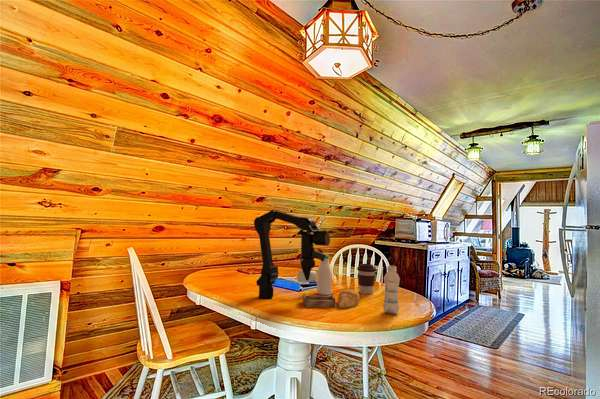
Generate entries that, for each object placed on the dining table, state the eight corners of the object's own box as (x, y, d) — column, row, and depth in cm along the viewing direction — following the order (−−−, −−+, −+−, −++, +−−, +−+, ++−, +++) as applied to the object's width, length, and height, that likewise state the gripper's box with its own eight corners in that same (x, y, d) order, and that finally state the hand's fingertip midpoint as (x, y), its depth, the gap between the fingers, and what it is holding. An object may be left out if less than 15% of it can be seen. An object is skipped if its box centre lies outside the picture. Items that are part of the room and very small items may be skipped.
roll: (297, 283, 145) (297, 271, 145) (297, 280, 150) (297, 269, 150) (316, 283, 145) (316, 271, 145) (315, 280, 150) (315, 269, 150)
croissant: (346, 318, 140) (354, 303, 138) (327, 304, 144) (335, 289, 143) (361, 305, 159) (369, 292, 157) (344, 293, 163) (351, 280, 161)
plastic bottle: (380, 310, 141) (381, 264, 142) (395, 310, 141) (396, 265, 142) (385, 315, 134) (386, 267, 135) (401, 315, 135) (402, 267, 136)
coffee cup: (354, 293, 170) (355, 265, 171) (358, 289, 179) (359, 262, 180) (373, 296, 166) (374, 266, 167) (376, 291, 175) (377, 264, 176)
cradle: (303, 306, 143) (304, 297, 143) (302, 301, 151) (303, 293, 151) (335, 307, 144) (335, 298, 144) (332, 302, 152) (332, 293, 152)
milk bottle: (330, 295, 164) (331, 256, 165) (315, 294, 166) (316, 255, 166) (332, 292, 172) (333, 254, 172) (317, 291, 173) (318, 253, 174)
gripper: (326, 246, 139) (326, 283, 138) (322, 243, 158) (322, 275, 157) (301, 246, 139) (300, 283, 138) (300, 243, 157) (299, 275, 157)
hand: (307, 279), depth 147 cm, fingers closed on roll, 5 cm apart
